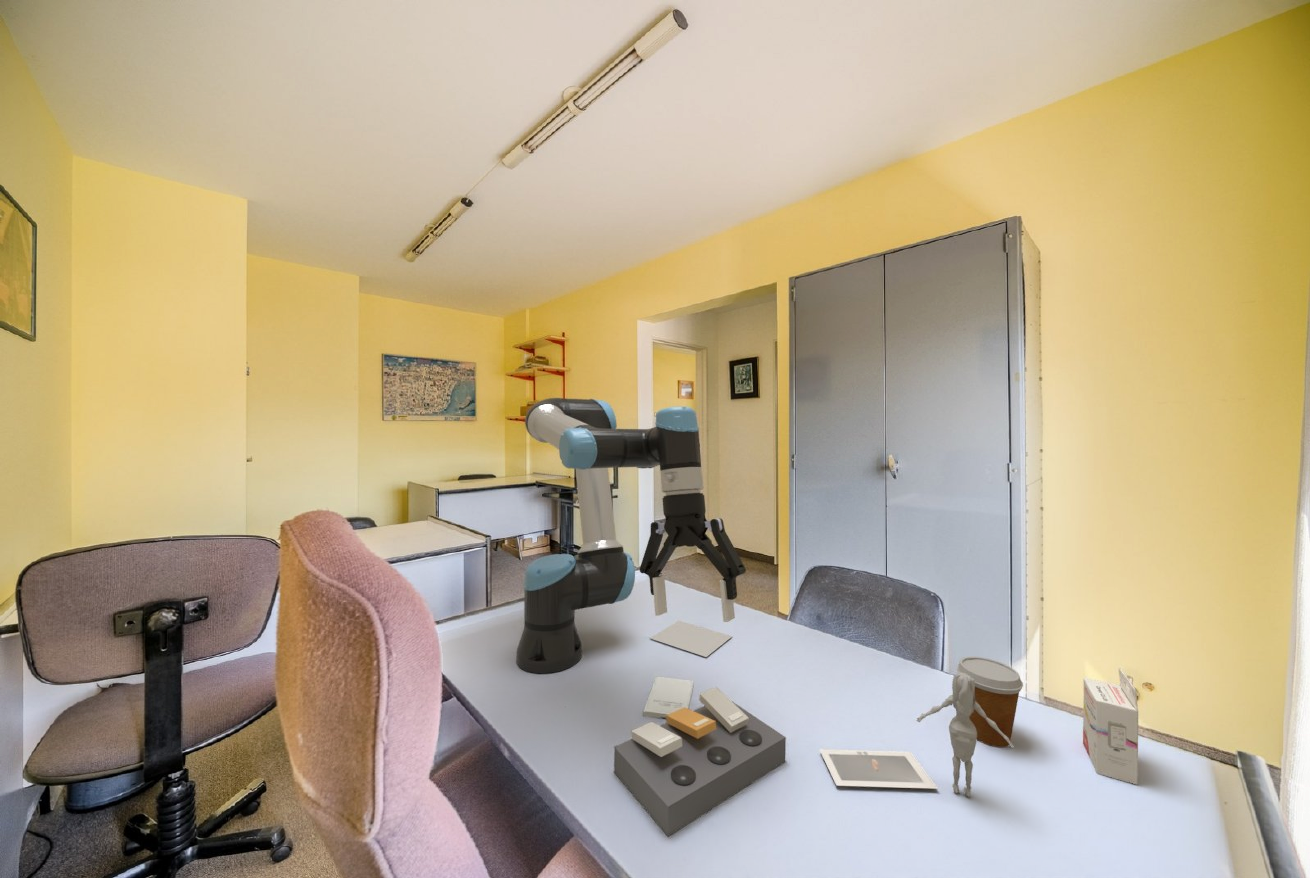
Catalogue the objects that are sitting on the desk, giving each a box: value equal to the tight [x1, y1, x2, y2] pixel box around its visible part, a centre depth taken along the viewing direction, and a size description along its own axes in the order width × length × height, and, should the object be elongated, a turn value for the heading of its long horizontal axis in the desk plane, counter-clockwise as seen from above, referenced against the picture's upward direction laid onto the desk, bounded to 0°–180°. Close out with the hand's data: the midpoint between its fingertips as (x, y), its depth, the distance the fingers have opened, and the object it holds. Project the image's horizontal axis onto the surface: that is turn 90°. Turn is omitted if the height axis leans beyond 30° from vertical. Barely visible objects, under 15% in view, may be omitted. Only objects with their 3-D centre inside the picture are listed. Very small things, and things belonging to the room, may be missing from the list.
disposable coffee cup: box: [956, 656, 1024, 748], centre depth 81 cm, size 10×10×12 cm
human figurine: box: [915, 671, 1015, 798], centre depth 67 cm, size 12×4×18 cm, turn 61°
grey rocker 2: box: [698, 686, 749, 733], centre depth 78 cm, size 8×4×1 cm, turn 35°
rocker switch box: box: [613, 701, 787, 837], centre depth 73 cm, size 14×24×4 cm, turn 126°
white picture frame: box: [819, 749, 939, 790], centre depth 72 cm, size 8×15×2 cm, turn 88°
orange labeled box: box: [665, 707, 716, 739], centre depth 75 cm, size 8×4×1 cm, turn 36°
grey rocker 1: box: [631, 721, 682, 757], centre depth 71 cm, size 8×4×1 cm, turn 36°
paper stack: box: [649, 620, 733, 658], centre depth 120 cm, size 23×25×1 cm
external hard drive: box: [642, 676, 695, 719], centre depth 91 cm, size 2×8×12 cm
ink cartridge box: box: [1082, 667, 1139, 786], centre depth 74 cm, size 9×5×15 cm, turn 148°
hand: (693, 617), depth 78 cm, fingers open, 13 cm apart
